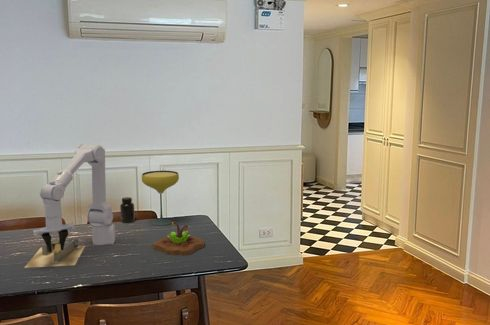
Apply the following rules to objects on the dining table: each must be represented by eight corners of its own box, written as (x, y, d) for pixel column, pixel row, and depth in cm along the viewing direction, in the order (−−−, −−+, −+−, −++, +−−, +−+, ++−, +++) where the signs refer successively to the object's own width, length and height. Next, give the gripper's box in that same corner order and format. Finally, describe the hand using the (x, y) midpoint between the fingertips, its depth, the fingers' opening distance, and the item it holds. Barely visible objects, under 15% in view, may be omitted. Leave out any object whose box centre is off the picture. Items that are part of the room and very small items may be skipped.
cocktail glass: (144, 229, 226) (143, 177, 222) (141, 219, 243) (140, 171, 239) (182, 226, 231) (181, 176, 227) (177, 216, 248) (175, 169, 244)
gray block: (56, 250, 193) (56, 241, 192) (46, 255, 187) (46, 245, 187) (52, 250, 194) (52, 240, 193) (42, 255, 188) (41, 245, 187)
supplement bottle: (129, 218, 244) (128, 196, 242) (137, 220, 240) (136, 197, 238) (118, 221, 239) (117, 198, 237) (126, 223, 235) (125, 200, 233)
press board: (85, 247, 200) (85, 245, 199) (74, 267, 178) (74, 265, 177) (40, 249, 197) (40, 247, 197) (24, 270, 175) (24, 267, 175)
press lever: (71, 244, 197) (70, 228, 196) (79, 245, 197) (78, 228, 196) (51, 261, 178) (50, 244, 177) (61, 261, 178) (59, 244, 177)
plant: (175, 237, 215) (175, 213, 213) (211, 244, 205) (210, 219, 203) (145, 250, 198) (144, 224, 196) (182, 258, 188) (181, 231, 186)
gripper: (69, 210, 184) (71, 243, 186) (30, 216, 175) (32, 251, 178) (75, 214, 179) (77, 248, 181) (35, 221, 170) (37, 257, 172)
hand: (55, 250), depth 179 cm, fingers open, 4 cm apart
